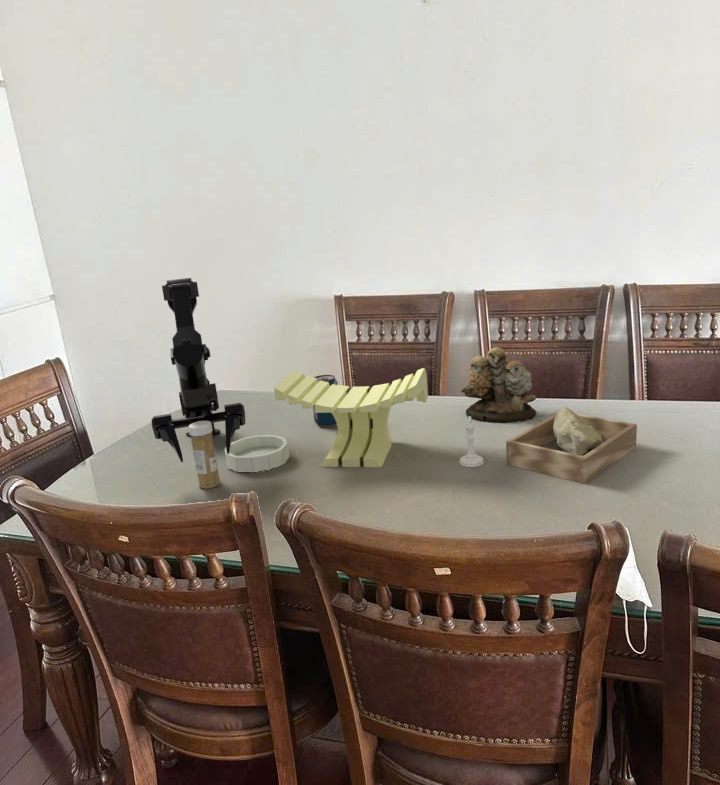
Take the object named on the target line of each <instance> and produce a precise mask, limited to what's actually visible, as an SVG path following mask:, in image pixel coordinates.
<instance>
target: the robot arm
mask: <svg viewBox="0 0 720 785" xmlns="http://www.w3.org/2000/svg"><path fill="white" fill-rule="evenodd" d="M161 288H162V290H161V291H162V294H163V296H162V297H163V301H164V302H165V301H166V302H167V305H168V308H169V309H170V310H171V311H172V312H173V314H174V319H175V326H176V327H175V328H176V333H175V334H174V335H173V336H172V346H173V348H172V347H171V348H170V360H171V365H172V366H174V365H175V366H176V372H177V375H178V378H179V386H180V387H179V388H180V391H179V392H178V395H179V397H178V398H179V402H180V408H181V413H182V417H180V418H175V419H173V418H172V414H171V413H165V414H160V415H154V416H153V417H152V418H151V419H150V420H151V421H150V422H151V428H152V432H153V434H154V438H155V439H156V440H161V441H162V442H164V443H165V442H168V444H169V445H170V446H171V447H172V449H173V450H174V452H175V453H176V456H177V457H178V459H179V461H180V463H184V457H183V452H182V450H181V445H180V442H179V440H178V436H177V432H176V429H181V428H189V425H190V424H192V423H194V422H198V421H210V422H211V424H212V436H214V435H216V434H219V433H221V429H217V428H216V427H215V423H220V422H224V423H225V426H224V427H225V428H224V430H225V448H226V451H227V454H229V452H230V447H231V443H232V442H233V438H234V435H235V432H236V431H237V430H240V428H241V427H242V426H244V425H246V410H245V407H244V404H243V403H241V402H236V403H231V404H224V411H219V412H216V411H218V409H220V404H219V399H218V398H219V397H218V391H217V385H216V382H215V383H210V382H211V381H210V380H209V379H208V378H207V373H206V366H205V364H206V361H208V360H209V359H210V358H211V351H210V350H211V349H210V348H208V346H207V345H206V343H203V341H202V335H201V333H200V332H199V331H197V330H196V328H195V322H194V312H195V309H196V308H197V305H198V302H197V301H198V300H197V298H198V297H200V292H199V287H198V282H197V281H192V277H186V278H178V279H169V280H166V283H165V284H164V285H161ZM213 412H214V413H213ZM185 436H187V437H190V438H191V436H190V433H189V431H188V432H186V433H185Z"/></svg>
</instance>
